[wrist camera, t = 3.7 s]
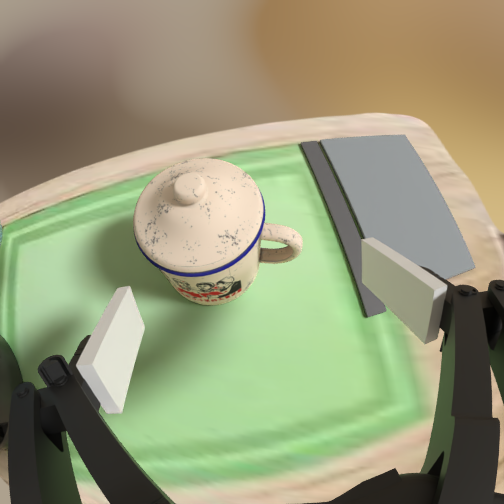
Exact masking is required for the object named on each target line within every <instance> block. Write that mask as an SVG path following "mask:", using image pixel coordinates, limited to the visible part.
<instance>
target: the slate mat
mask: <svg viewBox="0 0 504 504" xmlns="http://www.w3.org/2000/svg"><path fill="white" fill-rule="evenodd" d="M320 143H321V145H322V147H323V149H324V151H325V153H326V155H327V157H328V159H329V161H330V163H331V165H332V167H333V169H334V172H335V174H336V176H337V178H338V180H339V182H340V184H341V186H342V189H343V191H344V193H345V195H346V198H347V200H348V202H349V204H350V207H351V209H352V211H353V214H354V216H355V218H356V221H357V223H358V225H359V228H360V230H361V233H362V235H363V238H364V239H366V238H371V237H373V238H375V239H376V240H378V241H380V242H381V243H383V244H385V245H386V246H388V247H389V248H391V249H393V250H394V251H396V252H398V253H399V254H401V255H402V256H404V257H405V258H407V259H409V260H410V261H412V262H413V263H415V264H416V265H418V266H422V267H426V268H429V269H430V270H432V271H433V272H435V274H438V275H439V276H440V277H442V278H444V279H445V280H446V279H449V278H451V277H454V276H456V275H459V274H461V273H464V272H466V271H469V270H471V269H474V268H475V265H474V262H473V260H472V257H471V255H470V252H469V250H468V248H467V245H466V243H465V241H464V239H463V236H462V234H461V232H460V230H459V228H458V226H457V224H456V222H455V220H454V217H453V215H452V213H451V212H450V210H449V208H448V206H447V204H446V202H445V200H444V198H443V196H442V194H441V193H440V191H439V189H438V187H437V185H436V184H435V182H434V180H433V178H432V177H431V175H430V173H429V172H428V170H427V168H426V167H425V165H424V163H423V162H422V160H421V159H420V157H419V156H418V154H417V152H416V151H415V149H414V148H413V146H412V145H411V143H410V142H409V140H408V139H407V137H406V136H405V135H381V136H362V137H347V138H335V139H324V140H320Z"/></svg>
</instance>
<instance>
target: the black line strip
mask: <svg viewBox="0 0 504 504" xmlns="http://www.w3.org/2000/svg"><path fill="white" fill-rule="evenodd" d="M301 146H302V148H303V151H304V153H305V155H306V157H307V159H308V162H309V164H310V166H311V168H312V171H313V173H314V175H315V178H316V180H317V182H318V185H319V187H320V189H321V192H322V194H323V197H324V199H325V202H326V204H327V206H328V209H329V211H330V214H331V217H332V219H333V222H334V224H335V227H336V229H337V232H338V235H339V237H340V240H341V243H342V245H343V248H344V251H345V254H346V256H347V259H348V262H349V265H350V268H351V271H352V273H353V276H354V279H355V282H356V285H357V288H358V291H359V294H360V297H361V301H362V304H363V307H364V310H365V313H366V317H371V316H374V315H377V314H380V313H383V312H386V308H385V305H384V303H383V302H382V301H381V300H380V299H379V298H378V297H377V296H376V295H374V294H373V293H372V292H371V291H370V290H369V289H368V288H367V287H366V286H365V285H364V284H363V283H362V245H361V238H360V236H359V233H358V231H357V228H356V226H355V223H354V221H353V219H352V216H351V214H350V211H349V209H348V207H347V204H346V202H345V200H344V198H343V195H342V193H341V191H340V189H339V186H338V184H337V182H336V180H335V178H334V176H333V173H332V171H331V169H330V167H329V165H328V163H327V161H326V159H325V157H324V155H323V153H322V151H321V149H320V147H319V145H318V143H317V141H310V142H301Z"/></svg>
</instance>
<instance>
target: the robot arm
mask: <svg viewBox="0 0 504 504" xmlns="http://www.w3.org/2000/svg"><path fill="white" fill-rule="evenodd" d="M1 241H2V226H1V222H0V245H1ZM361 245H362V283H363V284H364V285H365V286H366V287H367V288H368V289H369V290H370V291H371V292H372V293H373V294H374V295H376V296H377V297H378V298H379V299H380V300H381V301H382V302H383V303H384V304H385V305H386V306H387V307H388V308H389V309H390V310H391V311H392V312H393V313H394V314H395V315H396V316H397V317H398V318H399V319H400V320H401V321H402V322H403V323H404V324H405V325H406V326H407V327H408V328H409V329H410V330H411V331H412V332H413V333H414V334H415V335H416V336H417V337H418V338H419V339H420V340H421V341H422V342H423V343H424V344H427V343H429V342H431V341H433V340H436V339H437V337H438V333H439V329H440V328H441V329H442V330H443V331H444V337H443V341H442V345H441V348H440V352H442V362H441V373H440V383H439V391H438V398H437V405H436V411H435V417H434V423H433V428H432V433H431V438H430V443H429V447H428V451H427V455H426V459H425V462H424V465H423V467H422V469H421V472H420V473H407V474H400V475H399V474H398V472H397V470H396V469H395V468H394V469H392V470H390V471H388V472H385V473H383V474H381V475H378V476H376V477H373V478H371V479H368V480H366V481H363V482H362V483H360V484H358V485H357V486H355V487H354V488H352V489H351V490H349V491H347V492H346V493H344V494H342V495H340V496H339V497H337V498H335V499H334V500H332V501H329V502H321V503H304V504H504V494H501V493H496V492H494V490H495V484H496V476H497V467H498V457H499V441H500V422H499V419H498V418H493V417H492V386H491V370H490V365H491V368H492V371H493V373H494V376H495V379H496V382H497V385H498V388H499V391H500V394H501V397H502V401H503V404H504V281H503V280H493V281H491V282H490V283H489V287H488V291H484V292H478V290H477V289H475V288H474V287H472V286H469V285H458V286H454V285H453V284H451V283H450V282H448V281H447V280H445V279H444V278H442V277H440V276H439V275H438V274H435V272H433V271H432V270H430V269H429V268H426V267H422V266H418V265H416V264H415V263H413V262H412V261H410V260H409V259H407V258H405V257H404V256H402V255H401V254H399V253H398V252H396V251H394V250H393V249H391V248H389V247H388V246H386V245H385V244H383V243H381V242H380V241H378V240H376V239H375V238H373V237H371V238H366V239H362V240H361ZM144 330H145V326H144V323H143V321H142V318H141V315H140V313H139V310H138V307H137V304H136V302H135V299H134V296H133V293H132V290H131V288H130V286H125V287H120V288H117V290H116V292H115V293H114V295H113V297H112V299H111V300H110V302H109V304H108V306H107V307H106V309H105V311H104V313H103V314H102V316H101V318H100V320H99V322H98V324H97V325H96V327H95V329H94V331H93V333H92V335H87V336H86V337H85V338H84V339H83V340H82V341H81V342H80V344H79V346H78V348H77V350H76V352H75V354H74V356H73V357H72V359H71V361H70V363H69V365H68V364H67V362H66V361H65V359H64V357H63V356H61V355H53V356H50V357H48V358H47V359H45V360H44V361H43V362H42V363H41V364H40V365H39V367H38V373H39V375H40V376H41V378H42V379H43V381H44V382H45V384H46V385H47V387H46V388H43V389H39V390H37V389H36V388H35V386H34V385H33V384H32V383H31V382H24V383H23V381H22V377H21V373H20V369H19V366H18V363H17V361H16V358H15V356H14V354H13V352H12V350H11V348H10V346H9V345H8V343H7V342H6V341H5V340H4V338H3V337H2V336H1V335H0V450H6V449H8V471H9V487H10V498H11V504H82V502H81V499H80V495H79V492H78V488H77V484H76V480H75V476H74V472H73V468H72V463H71V458H70V453H69V448H68V443H67V437H66V431H67V432H68V434H69V436H70V438H71V440H72V442H73V444H74V446H75V448H76V449H77V451H78V453H79V455H80V457H81V458H82V460H83V462H84V464H85V465H86V467H87V469H88V470H89V472H90V474H91V475H92V477H93V479H94V480H95V482H96V483H97V485H98V486H99V488H100V489H101V491H102V492H103V494H104V495H105V497H106V498H107V500H108V501H109V503H110V504H175V503H174V502H173V501H172V500H171V499H170V498H169V497H168V496H167V495H166V494H165V493H164V492H163V491H162V490H161V489H160V488H159V487H158V486H157V484H156V483H155V482H154V481H153V480H152V479H151V478H150V477H149V476H148V475H147V474H146V472H145V471H144V470H143V469H142V468H141V467H140V466H139V464H138V463H137V462H136V461H135V460H134V458H133V457H132V456H131V455H130V454H129V452H128V451H127V450H126V449H125V447H124V446H123V445H122V443H121V442H120V441H119V440H118V438H117V437H116V436H115V434H114V433H113V432H112V430H111V429H110V427H109V426H108V425H107V423H106V422H105V420H104V419H103V418H102V416H101V415H100V413H99V412H98V411H99V408H100V405H101V406H102V408H103V409H104V410H105V412H106V413H107V414H111V413H122V412H123V407H124V403H125V399H126V395H127V391H128V387H129V383H130V379H131V375H132V372H133V368H134V364H135V361H136V357H137V353H138V350H139V346H140V343H141V340H142V336H143V333H144Z"/></svg>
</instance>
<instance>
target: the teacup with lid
mask: <svg viewBox="0 0 504 504" xmlns="http://www.w3.org/2000/svg"><path fill="white" fill-rule="evenodd" d="M264 221H265V205H264V200H263V197H262V194H261V192H260V190H259V188H258V187H257V185H256V183H255V182H254V181H253V179H252V178H251V177H250V176H249V175H248V174H247V173H246V172H244V171H243V170H242V169H240V168H239V167H237V166H235V165H233V164H231V163H229V162H226V161H222V160H218V159H211V158H199V159H191V160H187V161H183V162H180V163H177V164H175V165H173V166H170V167H169V168H167V169H165V170H164V171H162V172H161V173H159V174H158V175H157V176H156V177H154V178H153V179H152V180H151V181H150V182H149V183H148V185H147V186H146V187H145V189H144V190H143V191H142V193H141V195H140V197H139V199H138V201H137V204H136V207H135V211H134V218H133V228H134V235H135V239H136V242H137V245H138V247H139V249H140V250H141V252H142V254H143V255H144V256H145V257H146V258H147V260H149V261H150V262H151V263H152V264H153V265H154V266H156V267H157V268H159V269H160V271H161V272H162V273H163V274H164V276H165V277H166V278H167V279H168V281H169V282H170V283H171V284H172V285H173V287H174V288H175V289H176V290H177V291H178V292H179V293H180V294H181V295H182V296H183V297H185V298H186V299H188V300H190V301H192V302H195V303H198V304H202V305H219V304H224V303H227V302H230V301H232V300H234V299H236V298H238V297H239V296H241V295H242V294H243V293H244V292H245V291H246V290H247V289H248V288H249V287H250V286H251V284H252V283H253V281H254V280H255V278H256V275H257V273H258V270H259V264H260V263H272V264H277V263H285V262H288V261H291V260H293V259H295V258H296V257H297V256H298V255H299V254H300V253H301V251H302V244H303V241H302V237H301V235H300V234H299V233H298V232H296V231H295V230H293V229H291V228H289V227H286V226H283V225H278V224H270V223H264ZM261 240H268V241H276V242H280V243H284V244H286V245H288V246H287V247H284V248H279V249H268V248H261V247H260V243H261Z"/></svg>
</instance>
